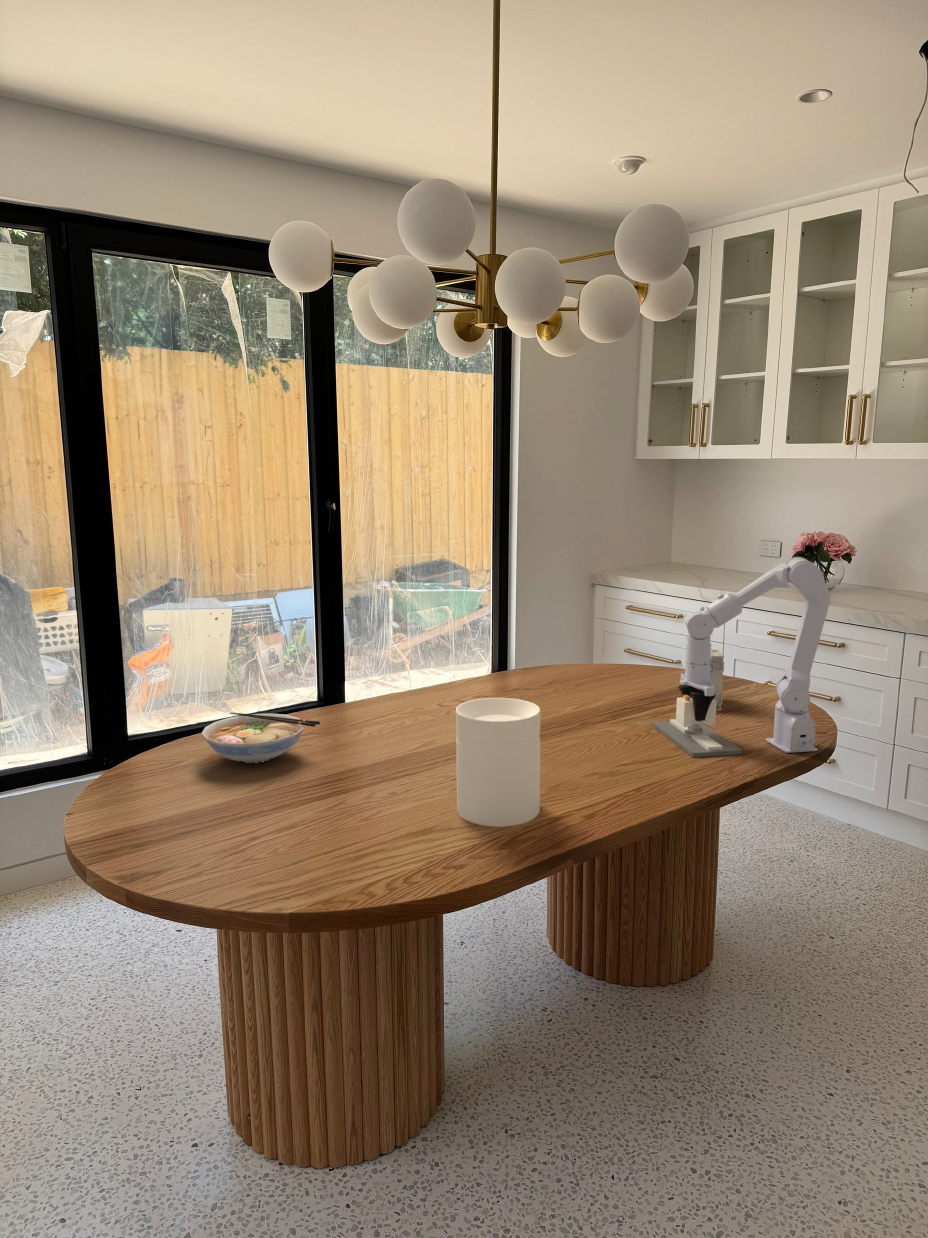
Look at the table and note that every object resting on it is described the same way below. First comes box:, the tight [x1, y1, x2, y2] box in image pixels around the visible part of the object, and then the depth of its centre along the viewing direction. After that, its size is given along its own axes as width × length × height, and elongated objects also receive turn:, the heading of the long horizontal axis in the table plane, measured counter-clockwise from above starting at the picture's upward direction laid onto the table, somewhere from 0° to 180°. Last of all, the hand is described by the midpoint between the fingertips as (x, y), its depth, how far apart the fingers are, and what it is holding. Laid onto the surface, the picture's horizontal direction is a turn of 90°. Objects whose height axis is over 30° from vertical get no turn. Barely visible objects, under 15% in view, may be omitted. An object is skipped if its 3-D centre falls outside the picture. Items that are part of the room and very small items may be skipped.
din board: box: [651, 718, 743, 758], centre depth 198 cm, size 24×12×2 cm, turn 9°
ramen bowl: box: [201, 711, 321, 764], centre depth 187 cm, size 25×23×8 cm
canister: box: [455, 697, 541, 828], centre depth 156 cm, size 16×16×20 cm
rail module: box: [675, 695, 717, 727], centre depth 197 cm, size 4×8×7 cm, turn 99°
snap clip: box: [688, 724, 703, 733], centre depth 198 cm, size 3×2×1 cm
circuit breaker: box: [710, 649, 725, 711], centre depth 229 cm, size 8×14×15 cm, turn 174°
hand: (695, 717), depth 198 cm, fingers closed on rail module, 4 cm apart
